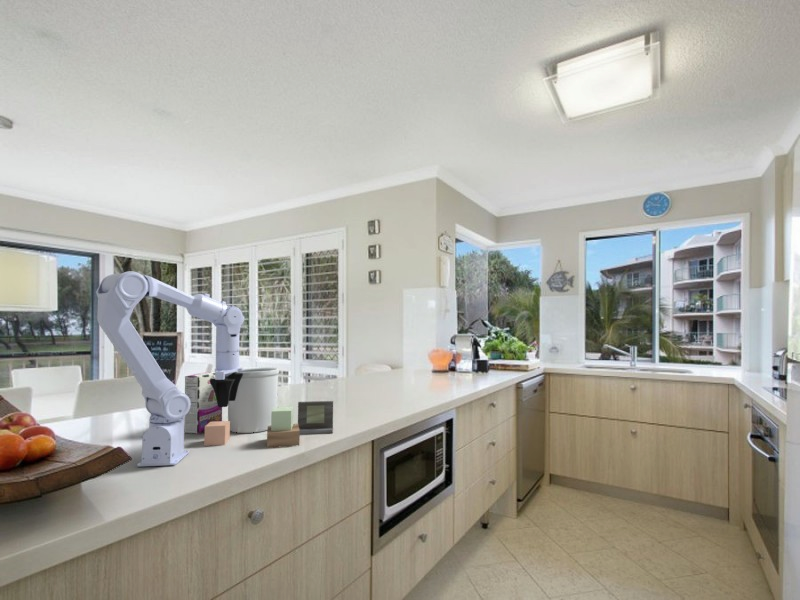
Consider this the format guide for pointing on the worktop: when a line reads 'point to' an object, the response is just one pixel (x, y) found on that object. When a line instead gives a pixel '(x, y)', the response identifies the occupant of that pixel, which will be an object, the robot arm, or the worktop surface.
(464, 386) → the worktop surface
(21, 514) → the worktop surface
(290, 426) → the sage cube
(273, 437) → the walnut base block
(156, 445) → the robot arm
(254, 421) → the utensil holder
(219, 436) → the terracotta cube
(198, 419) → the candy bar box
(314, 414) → the dark grey box
